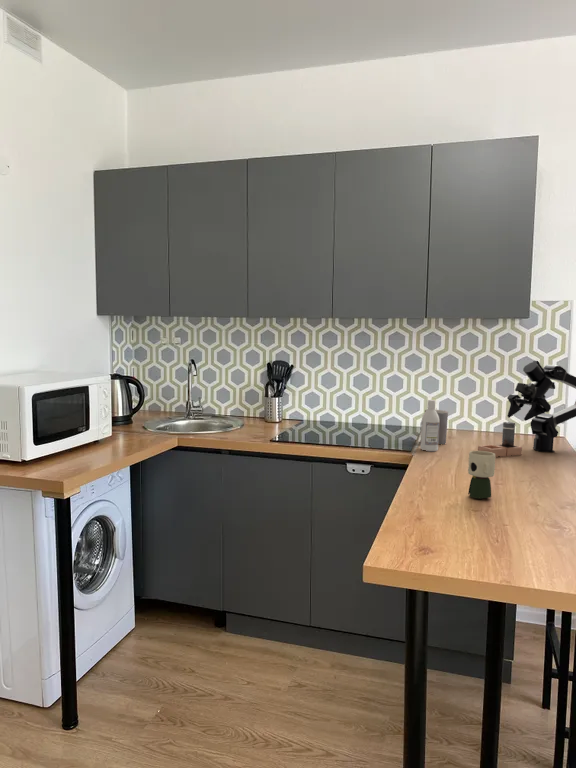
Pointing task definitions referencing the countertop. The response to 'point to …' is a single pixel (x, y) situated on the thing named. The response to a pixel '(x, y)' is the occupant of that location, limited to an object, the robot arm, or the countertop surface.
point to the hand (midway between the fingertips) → (516, 418)
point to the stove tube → (508, 434)
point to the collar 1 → (493, 449)
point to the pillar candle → (442, 425)
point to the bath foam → (430, 428)
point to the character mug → (481, 473)
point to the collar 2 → (512, 450)
